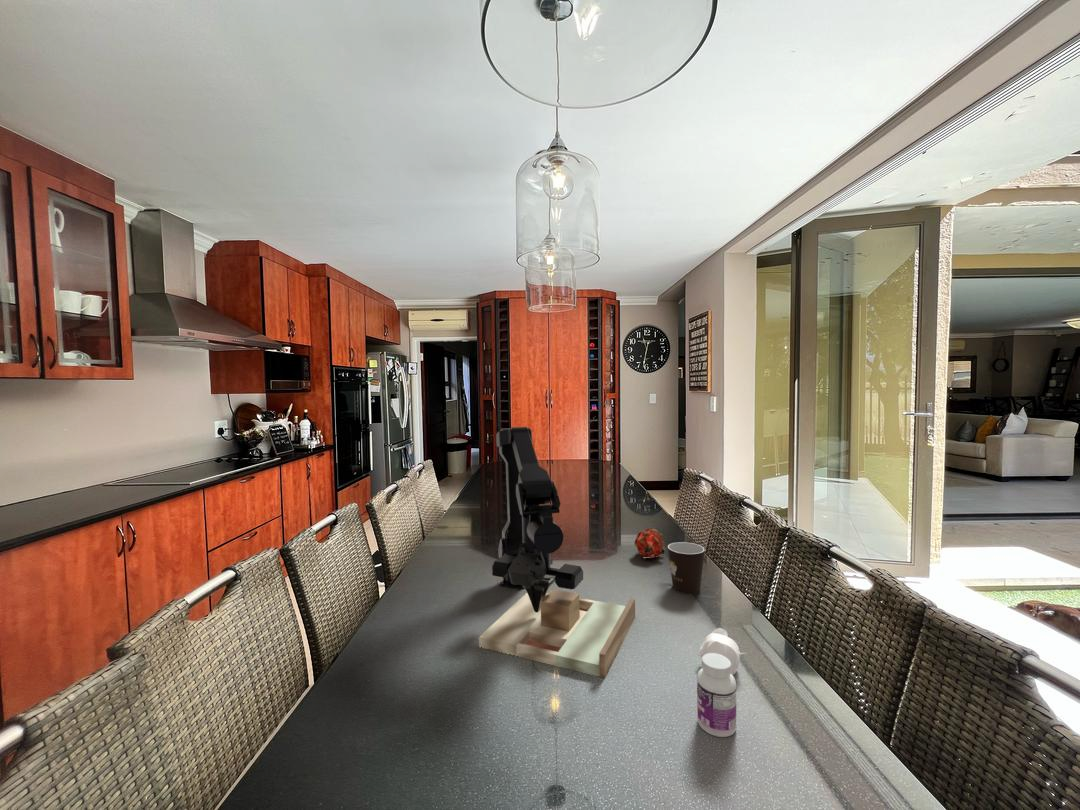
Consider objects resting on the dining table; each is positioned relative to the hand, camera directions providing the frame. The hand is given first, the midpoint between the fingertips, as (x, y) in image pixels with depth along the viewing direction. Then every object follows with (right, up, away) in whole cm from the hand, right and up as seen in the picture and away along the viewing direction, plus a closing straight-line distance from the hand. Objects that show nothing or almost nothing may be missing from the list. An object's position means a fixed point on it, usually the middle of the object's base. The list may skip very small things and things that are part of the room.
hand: (537, 611), depth 97 cm
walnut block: (+5, -1, -2) cm, 5 cm away
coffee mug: (+37, -2, +19) cm, 41 cm away
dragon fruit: (+33, -2, +39) cm, 51 cm away
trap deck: (+5, -3, -2) cm, 6 cm away
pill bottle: (+26, -4, -29) cm, 39 cm away
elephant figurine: (+32, -3, -15) cm, 36 cm away
